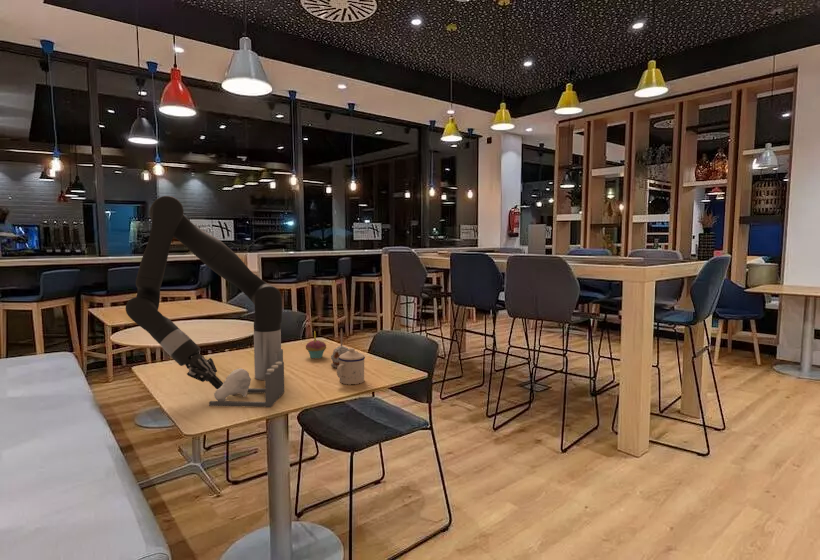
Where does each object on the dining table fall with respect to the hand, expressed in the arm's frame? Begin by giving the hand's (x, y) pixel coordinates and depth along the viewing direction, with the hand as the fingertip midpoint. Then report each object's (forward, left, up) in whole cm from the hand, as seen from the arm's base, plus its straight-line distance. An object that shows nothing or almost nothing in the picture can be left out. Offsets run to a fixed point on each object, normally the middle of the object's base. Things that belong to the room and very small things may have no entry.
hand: (220, 386), depth 143 cm
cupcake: (-18, -51, -4) cm, 54 cm away
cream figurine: (-3, 0, -4) cm, 5 cm away
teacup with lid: (-37, -18, -4) cm, 42 cm away
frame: (-9, 0, -4) cm, 9 cm away
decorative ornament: (-31, -38, -4) cm, 49 cm away
